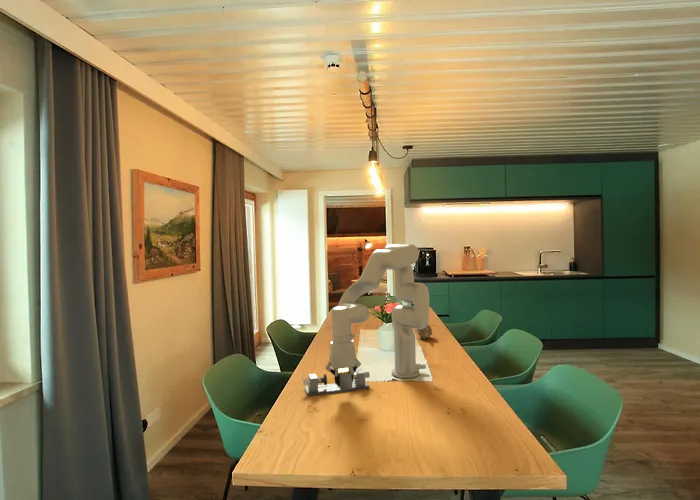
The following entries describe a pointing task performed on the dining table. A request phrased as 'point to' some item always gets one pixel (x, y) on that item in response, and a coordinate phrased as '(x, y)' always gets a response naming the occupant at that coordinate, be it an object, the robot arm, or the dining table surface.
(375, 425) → the dining table surface
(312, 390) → the shaft stand
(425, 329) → the pine cone
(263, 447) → the dining table surface
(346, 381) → the two-tone brushed block
